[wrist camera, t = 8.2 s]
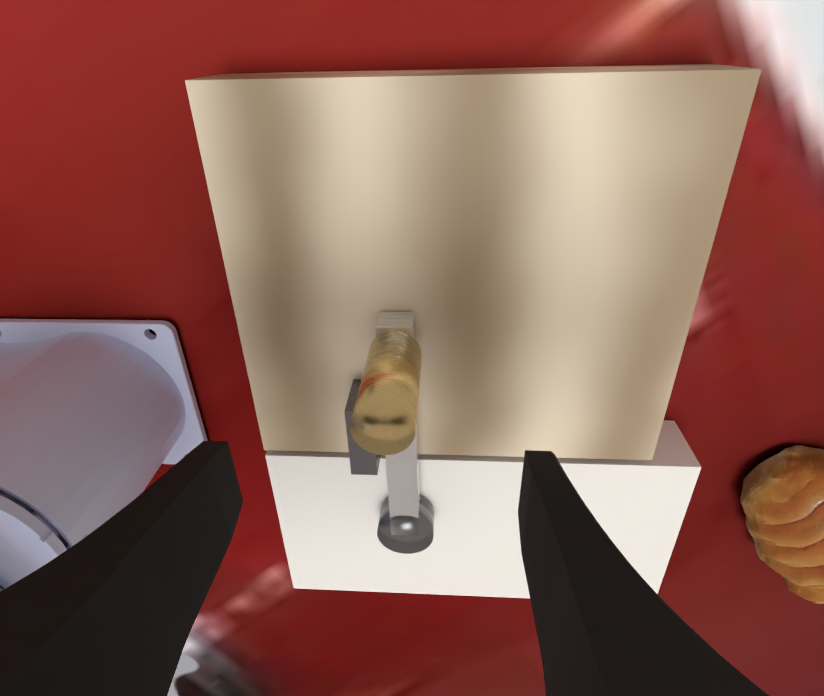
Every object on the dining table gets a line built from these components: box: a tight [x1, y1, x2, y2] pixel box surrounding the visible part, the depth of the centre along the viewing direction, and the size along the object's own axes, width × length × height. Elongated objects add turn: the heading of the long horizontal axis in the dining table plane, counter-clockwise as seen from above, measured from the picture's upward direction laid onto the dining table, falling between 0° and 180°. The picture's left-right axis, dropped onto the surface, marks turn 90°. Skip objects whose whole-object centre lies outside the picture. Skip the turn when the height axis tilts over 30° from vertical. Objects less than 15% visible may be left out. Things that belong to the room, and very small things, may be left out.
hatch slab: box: [185, 64, 762, 460], centre depth 20 cm, size 16×14×3 cm
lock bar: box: [350, 312, 434, 554], centre depth 19 cm, size 11×2×5 cm, turn 2°
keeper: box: [344, 379, 381, 475], centre depth 20 cm, size 1×3×2 cm, turn 1°
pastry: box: [740, 445, 824, 604], centre depth 25 cm, size 9×7×4 cm
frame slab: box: [265, 420, 701, 598], centre depth 26 cm, size 18×9×3 cm, turn 91°
